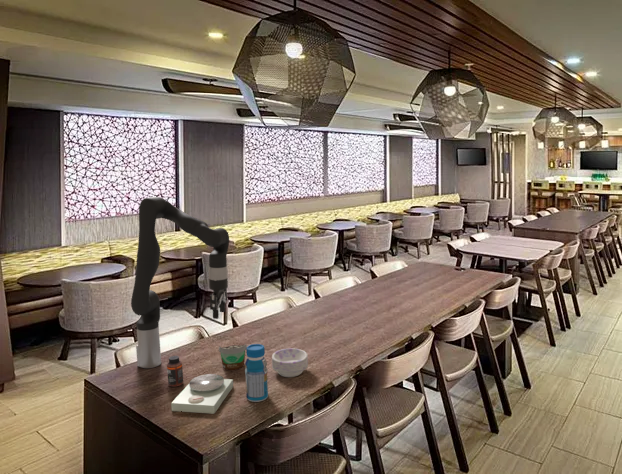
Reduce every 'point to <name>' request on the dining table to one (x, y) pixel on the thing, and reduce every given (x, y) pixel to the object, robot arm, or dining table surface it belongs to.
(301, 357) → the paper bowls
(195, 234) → the robot arm
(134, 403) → the dining table surface
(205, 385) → the scale pan
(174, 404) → the scale base
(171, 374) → the supplement bottle
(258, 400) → the beverage bottle
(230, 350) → the food container
